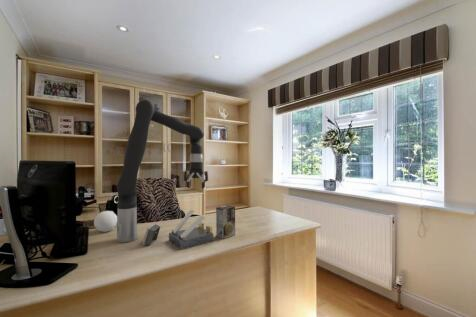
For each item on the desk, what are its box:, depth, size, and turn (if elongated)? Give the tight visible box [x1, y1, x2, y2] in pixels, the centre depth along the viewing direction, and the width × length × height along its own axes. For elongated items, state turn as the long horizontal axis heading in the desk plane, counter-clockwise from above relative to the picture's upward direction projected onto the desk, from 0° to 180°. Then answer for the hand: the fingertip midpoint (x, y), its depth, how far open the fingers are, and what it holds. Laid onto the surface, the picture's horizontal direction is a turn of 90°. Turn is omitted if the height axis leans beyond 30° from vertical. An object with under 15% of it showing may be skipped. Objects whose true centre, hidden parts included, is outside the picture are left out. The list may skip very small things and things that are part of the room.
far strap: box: [173, 208, 195, 234], centre depth 122 cm, size 15×3×1 cm
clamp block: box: [168, 221, 214, 251], centre depth 120 cm, size 18×15×7 cm
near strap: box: [180, 215, 205, 239], centre depth 116 cm, size 15×3×1 cm
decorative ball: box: [93, 210, 118, 233], centre depth 136 cm, size 12×12×12 cm
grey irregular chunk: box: [142, 222, 161, 246], centre depth 118 cm, size 9×5×9 cm, turn 176°
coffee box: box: [215, 204, 236, 240], centre depth 128 cm, size 9×6×16 cm
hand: (196, 188), depth 138 cm, fingers open, 8 cm apart
